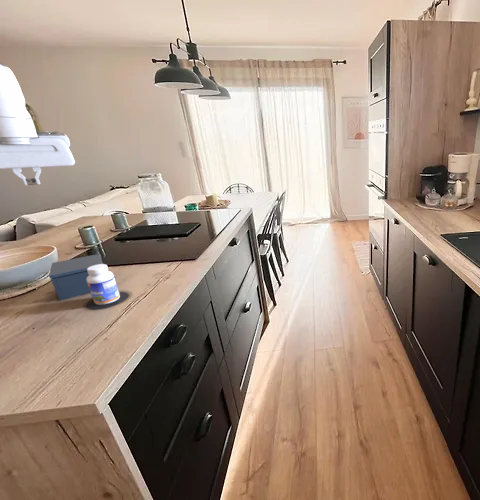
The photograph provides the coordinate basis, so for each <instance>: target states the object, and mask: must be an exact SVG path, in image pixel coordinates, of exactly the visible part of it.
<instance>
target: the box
mask: <svg viewBox="0 0 480 500" xmlns="http://www.w3.org/2000/svg"><path fill="white" fill-rule="evenodd" d="M101 261H102V264H104V263H103V260H102V258H101ZM88 276H89V274H88V271H83V272H79V273H74V274H70V275H65V276H60V277H56V278H51V279H50V280H51V283H52V285H53V288H54V290H55V292H56V295H57V297H58V300H59V301H64V300H68V299H71V298H76V297H79V296H83V295H87V294H88V295H89V294H91V291H90V289H89V286H88V283H87V277H88Z"/></svg>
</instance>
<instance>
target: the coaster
mask: <svg viewBox="0 0 480 500" xmlns="http://www.w3.org/2000/svg"><path fill="white" fill-rule="evenodd" d="M119 294H120V298H119V299H118V300H116V301H114V302H112V303H109V304H104V305H98V304H95V302H94V300H93V299H90V300H89V301H88V302H87V303H86V305H85V308H86V309H87V310H91V311H92V310H93V311H94V310H95V311H96V310H103V309H109V308H112V307H115V306H117V305H119V304H121V303H123V302H125V301H126V300H127V299H128V298H129V297H130V294H129V293H128V292H126V291H119Z"/></svg>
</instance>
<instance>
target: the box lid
mask: <svg viewBox="0 0 480 500" xmlns="http://www.w3.org/2000/svg"><path fill="white" fill-rule="evenodd" d="M101 259H102V256H101V254H100V253H97V254H96V253H95V254H91V255H87V256H81V257H76V258H71V259H67V260H66V259H65V260H61V261H60V260H59V261H56V262H52V263H51V266H50V271H49V274H48V277H49V279H50V280H51V278H56V277H60V276H65V275H70V274H74V273H79V272H83V271H87V268H89V267H91V266H94V265H98V264H102V262H103V260H102V261H101Z"/></svg>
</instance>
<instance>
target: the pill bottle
mask: <svg viewBox="0 0 480 500" xmlns="http://www.w3.org/2000/svg"><path fill="white" fill-rule="evenodd" d="M87 271H88V274H89V276H88V277H87V283H88V286H89V289H90V291H91V293H90V294H91V297H92V300H94V302H95V304H98V305H104V304H109V303H112V302H114V301H116V300H118V299H119V298H120V294H119V292H120V291H119V288H118V285H117V282H116V279H115V275H114V273H113V272H112V271H109V267H108V264H105V263H103V264H98V265H94V266H91V267H89V268H87Z"/></svg>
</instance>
